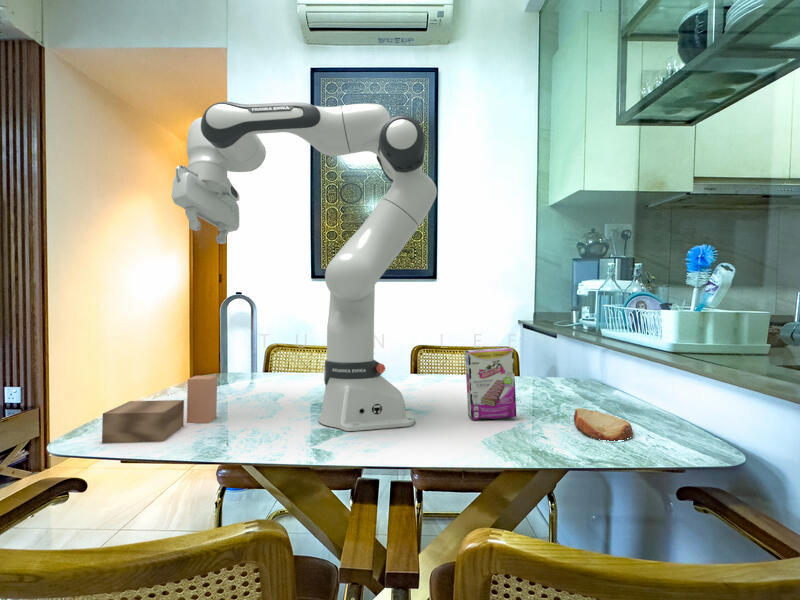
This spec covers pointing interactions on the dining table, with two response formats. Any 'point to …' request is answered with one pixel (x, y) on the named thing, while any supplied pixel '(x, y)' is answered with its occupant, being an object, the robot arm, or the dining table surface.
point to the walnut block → (142, 421)
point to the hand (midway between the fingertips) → (208, 236)
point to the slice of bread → (602, 425)
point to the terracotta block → (201, 399)
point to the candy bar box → (490, 383)
